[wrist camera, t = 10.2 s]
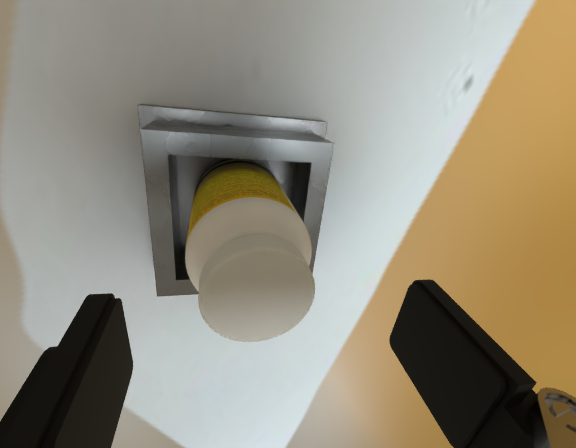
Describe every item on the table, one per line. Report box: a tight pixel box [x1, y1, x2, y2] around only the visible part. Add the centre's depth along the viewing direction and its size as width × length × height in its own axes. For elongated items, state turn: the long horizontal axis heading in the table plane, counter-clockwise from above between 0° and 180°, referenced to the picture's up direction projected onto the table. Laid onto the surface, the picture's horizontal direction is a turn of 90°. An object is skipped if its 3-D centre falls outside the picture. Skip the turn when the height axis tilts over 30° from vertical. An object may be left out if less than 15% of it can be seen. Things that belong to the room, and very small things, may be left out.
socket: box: [138, 104, 334, 296], centre depth 20 cm, size 12×12×4 cm
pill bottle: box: [185, 159, 315, 342], centre depth 16 cm, size 6×6×11 cm
